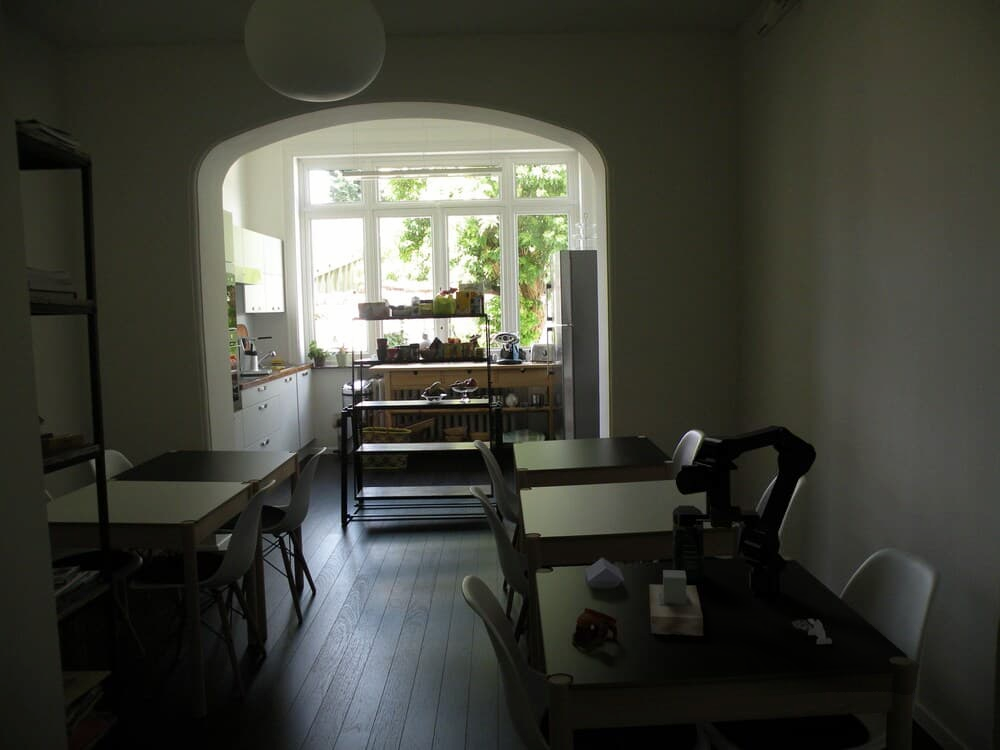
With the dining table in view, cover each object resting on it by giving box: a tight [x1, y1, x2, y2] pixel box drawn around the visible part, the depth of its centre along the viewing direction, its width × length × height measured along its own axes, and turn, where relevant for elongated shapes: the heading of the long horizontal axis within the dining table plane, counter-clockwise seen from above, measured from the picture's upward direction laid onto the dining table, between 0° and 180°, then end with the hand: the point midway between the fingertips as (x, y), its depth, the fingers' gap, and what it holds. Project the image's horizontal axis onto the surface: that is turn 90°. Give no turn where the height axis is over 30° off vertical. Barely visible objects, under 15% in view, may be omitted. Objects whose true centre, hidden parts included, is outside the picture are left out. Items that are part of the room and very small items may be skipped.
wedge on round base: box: [584, 557, 625, 589], centre depth 206 cm, size 9×7×13 cm
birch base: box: [648, 583, 704, 637], centre depth 183 cm, size 11×20×4 cm, turn 171°
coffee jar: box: [671, 505, 705, 583], centre depth 209 cm, size 10×8×19 cm
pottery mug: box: [571, 607, 618, 651], centre depth 170 cm, size 12×10×8 cm
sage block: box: [662, 569, 687, 604], centre depth 183 cm, size 5×5×6 cm
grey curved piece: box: [791, 618, 833, 645], centre depth 173 cm, size 15×7×4 cm, turn 0°
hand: (718, 553), depth 190 cm, fingers open, 9 cm apart
